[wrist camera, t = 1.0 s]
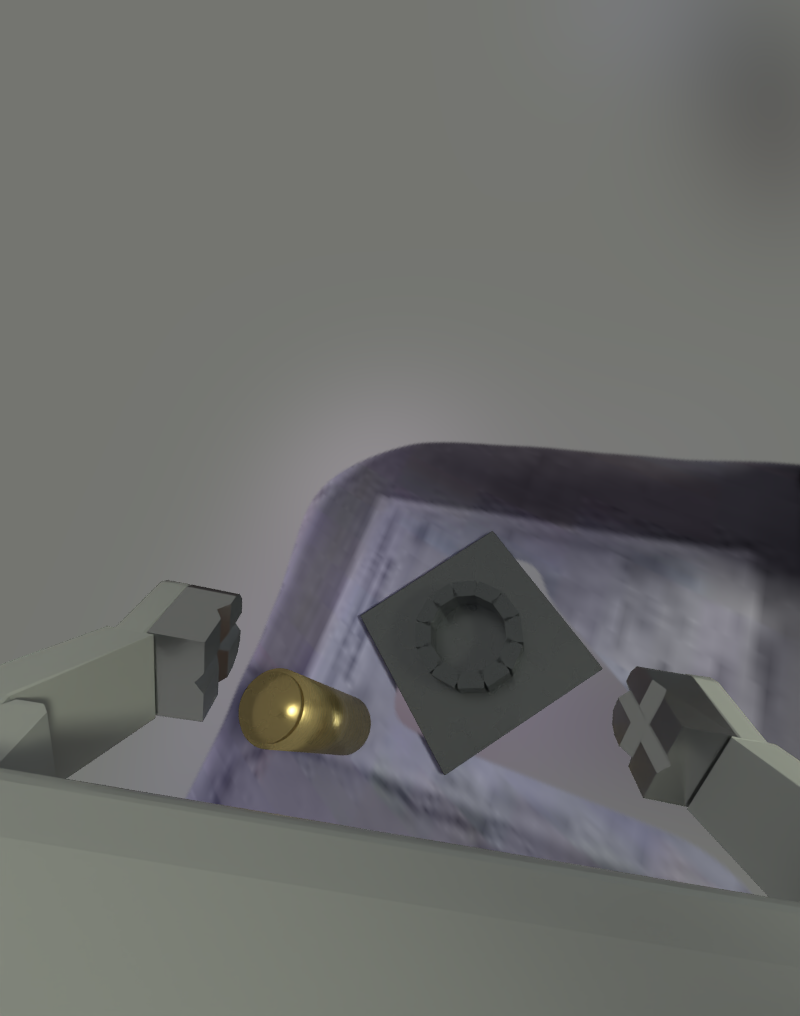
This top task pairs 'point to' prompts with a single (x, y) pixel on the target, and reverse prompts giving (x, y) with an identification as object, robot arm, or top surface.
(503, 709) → the square socket base
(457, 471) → the top surface
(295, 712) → the cylinder
